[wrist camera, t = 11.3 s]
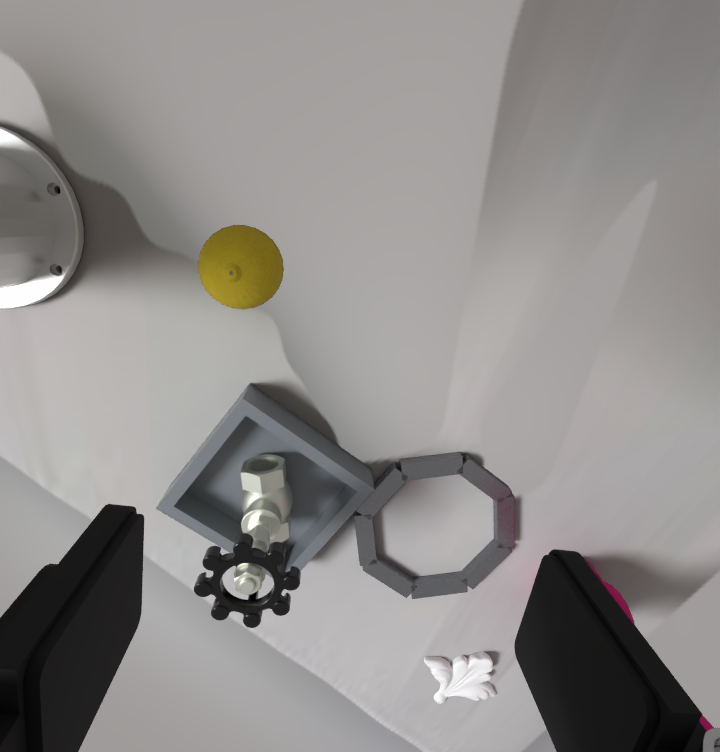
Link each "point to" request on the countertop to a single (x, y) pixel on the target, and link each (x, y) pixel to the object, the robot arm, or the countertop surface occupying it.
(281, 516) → the valve
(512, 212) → the countertop surface
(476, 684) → the acanthus leaf ornament
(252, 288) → the lemon
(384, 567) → the segmented octagonal ring
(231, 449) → the bin
